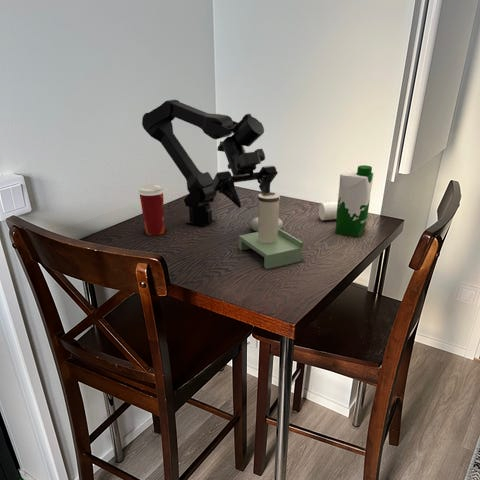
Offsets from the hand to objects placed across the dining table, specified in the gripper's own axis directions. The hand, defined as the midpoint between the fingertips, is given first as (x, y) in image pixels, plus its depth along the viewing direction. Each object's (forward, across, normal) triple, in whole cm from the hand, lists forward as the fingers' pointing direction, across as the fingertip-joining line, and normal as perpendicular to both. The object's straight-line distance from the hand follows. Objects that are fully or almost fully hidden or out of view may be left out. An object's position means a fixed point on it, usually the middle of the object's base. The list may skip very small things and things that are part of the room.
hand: (254, 204), depth 136 cm
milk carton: (+12, +32, +5) cm, 34 cm away
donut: (+2, +10, +15) cm, 18 cm away
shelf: (+15, 0, +2) cm, 15 cm away
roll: (+4, +36, +13) cm, 38 cm away
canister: (+11, 0, 0) cm, 11 cm away
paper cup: (-8, -22, +25) cm, 35 cm away
